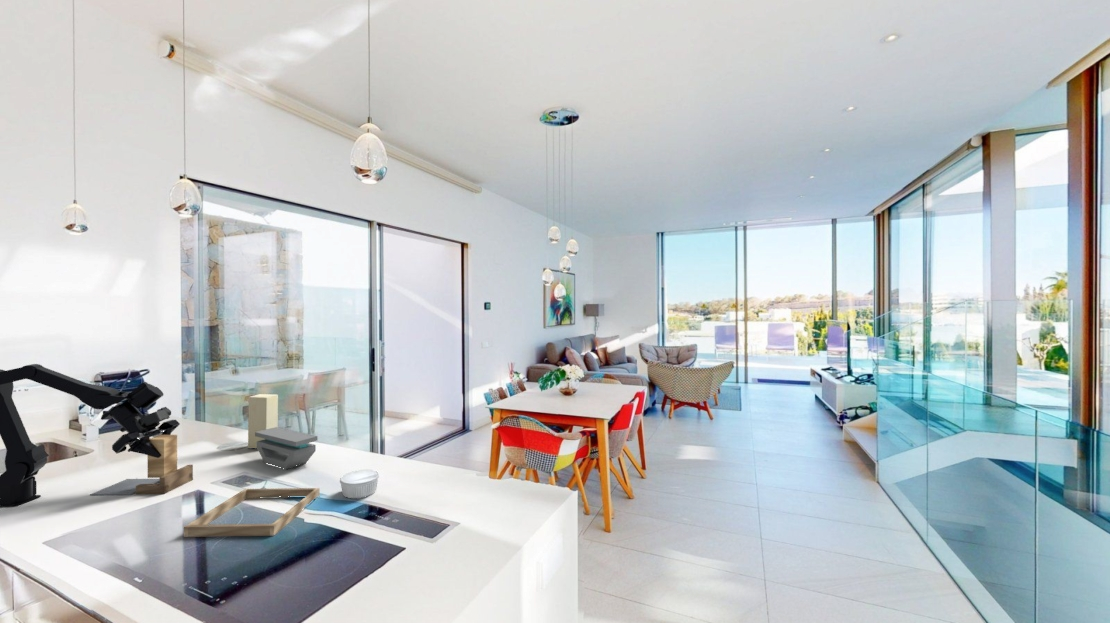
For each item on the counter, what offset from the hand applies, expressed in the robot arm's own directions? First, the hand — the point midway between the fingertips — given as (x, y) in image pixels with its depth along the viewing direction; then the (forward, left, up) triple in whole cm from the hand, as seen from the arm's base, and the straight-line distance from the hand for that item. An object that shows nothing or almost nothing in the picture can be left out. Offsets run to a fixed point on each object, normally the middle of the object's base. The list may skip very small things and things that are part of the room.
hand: (167, 453), depth 140 cm
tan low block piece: (0, +1, -10) cm, 11 cm away
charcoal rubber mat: (0, +12, -10) cm, 16 cm away
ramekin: (-6, -63, -11) cm, 64 cm away
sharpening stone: (+20, -26, -11) cm, 34 cm away
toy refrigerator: (+40, -6, -11) cm, 42 cm away
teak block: (0, +1, -7) cm, 7 cm away
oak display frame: (-20, -41, -10) cm, 47 cm away
